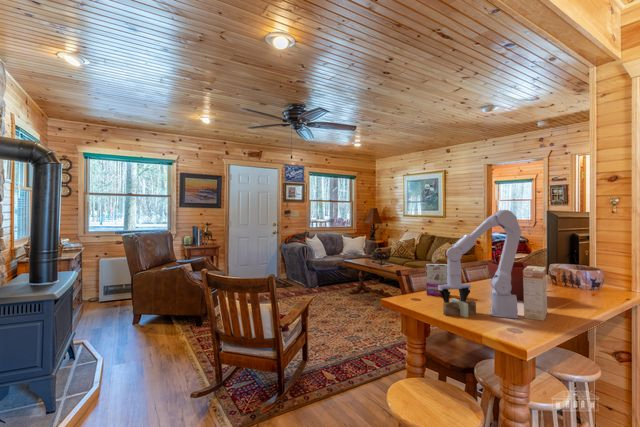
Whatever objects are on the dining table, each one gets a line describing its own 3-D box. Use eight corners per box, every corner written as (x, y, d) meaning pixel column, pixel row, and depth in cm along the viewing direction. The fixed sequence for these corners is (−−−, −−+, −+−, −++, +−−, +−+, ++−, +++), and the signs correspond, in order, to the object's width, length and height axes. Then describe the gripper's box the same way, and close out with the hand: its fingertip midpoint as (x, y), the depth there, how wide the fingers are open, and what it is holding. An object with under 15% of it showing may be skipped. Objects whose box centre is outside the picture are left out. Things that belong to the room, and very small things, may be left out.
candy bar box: (448, 294, 175) (447, 263, 176) (448, 296, 171) (448, 265, 171) (426, 293, 179) (425, 263, 179) (426, 295, 174) (425, 264, 174)
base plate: (473, 312, 142) (472, 300, 142) (476, 313, 140) (475, 301, 140) (443, 314, 139) (443, 302, 139) (446, 315, 137) (445, 303, 137)
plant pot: (547, 302, 157) (546, 267, 157) (507, 302, 157) (506, 267, 157) (523, 293, 176) (522, 261, 176) (487, 293, 176) (486, 262, 176)
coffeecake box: (528, 309, 145) (527, 265, 145) (548, 312, 140) (546, 266, 140) (523, 318, 133) (522, 270, 133) (544, 321, 129) (543, 271, 129)
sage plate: (450, 310, 145) (450, 298, 145) (454, 310, 145) (453, 298, 145) (464, 317, 135) (464, 304, 135) (468, 317, 135) (468, 303, 135)
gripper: (463, 272, 149) (464, 302, 148) (434, 273, 146) (434, 304, 146) (473, 275, 142) (474, 306, 141) (442, 276, 139) (443, 308, 139)
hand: (454, 305), depth 143 cm, fingers open, 7 cm apart
